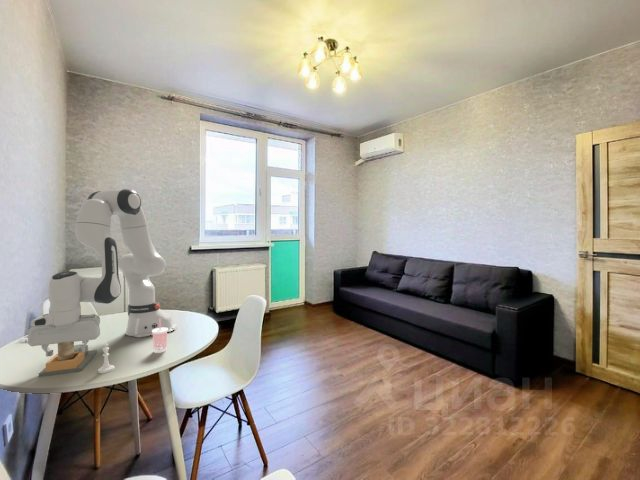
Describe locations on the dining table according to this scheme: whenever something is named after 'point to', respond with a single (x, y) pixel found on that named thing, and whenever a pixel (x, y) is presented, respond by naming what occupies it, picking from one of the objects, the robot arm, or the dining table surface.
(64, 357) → the wooden peg
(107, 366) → the chess piece
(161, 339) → the beverage cup
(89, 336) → the robot arm
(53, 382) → the dining table surface
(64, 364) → the base
